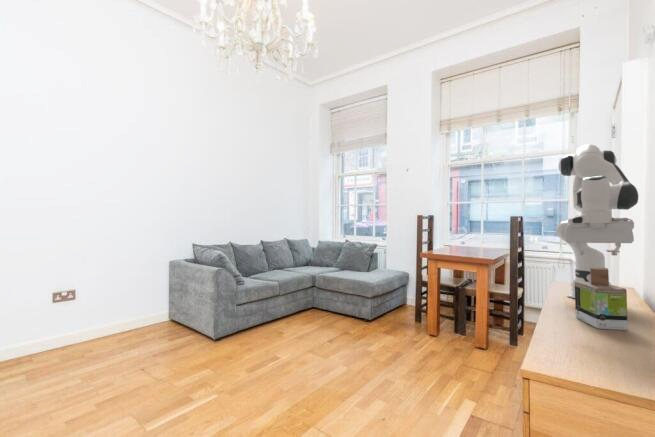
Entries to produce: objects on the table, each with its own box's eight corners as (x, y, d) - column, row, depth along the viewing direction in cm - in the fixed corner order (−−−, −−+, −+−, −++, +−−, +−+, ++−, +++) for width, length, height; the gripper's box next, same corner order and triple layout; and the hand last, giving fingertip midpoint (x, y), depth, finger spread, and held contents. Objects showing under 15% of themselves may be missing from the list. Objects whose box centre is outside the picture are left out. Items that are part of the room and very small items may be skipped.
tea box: (629, 330, 115) (627, 288, 115) (596, 329, 117) (595, 288, 117) (603, 318, 130) (602, 280, 130) (574, 317, 132) (573, 280, 132)
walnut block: (590, 282, 127) (590, 267, 127) (607, 283, 124) (606, 268, 124) (591, 284, 123) (590, 268, 123) (609, 286, 120) (608, 269, 120)
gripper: (632, 217, 121) (633, 254, 121) (563, 219, 132) (565, 253, 132) (635, 217, 115) (636, 256, 115) (563, 219, 127) (565, 254, 127)
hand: (597, 254), depth 124 cm, fingers open, 8 cm apart
